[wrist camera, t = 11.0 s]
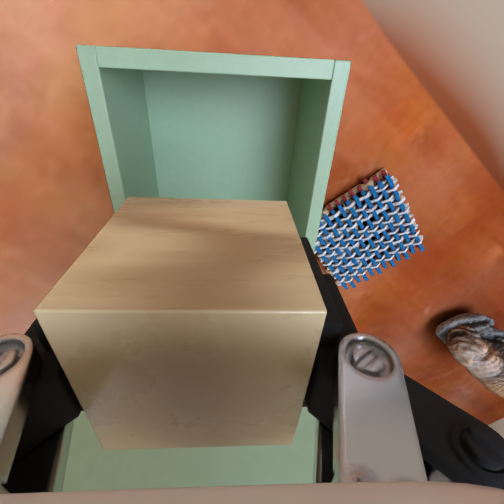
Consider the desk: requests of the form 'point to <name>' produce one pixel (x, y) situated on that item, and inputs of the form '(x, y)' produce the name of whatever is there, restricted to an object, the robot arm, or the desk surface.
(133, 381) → the birch block
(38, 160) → the desk surface
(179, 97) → the chest
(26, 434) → the robot arm
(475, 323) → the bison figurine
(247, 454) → the lid
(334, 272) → the woven mat
